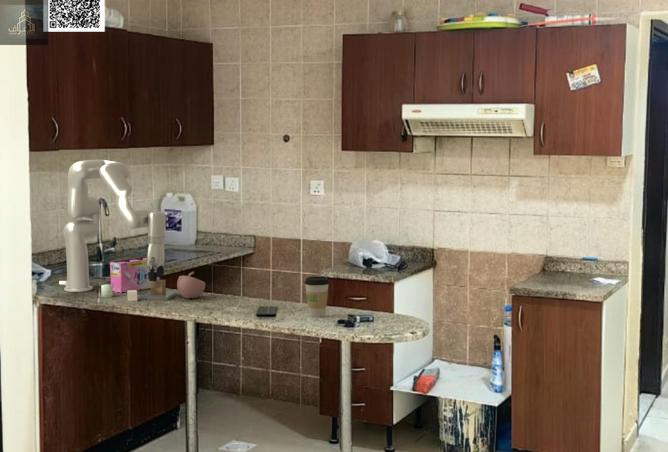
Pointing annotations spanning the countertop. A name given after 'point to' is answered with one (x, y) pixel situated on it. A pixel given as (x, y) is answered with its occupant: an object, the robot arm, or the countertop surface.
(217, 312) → the countertop surface
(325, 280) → the coffee cup
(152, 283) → the walnut block
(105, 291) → the sage tin
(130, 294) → the cream cube
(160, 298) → the slate board
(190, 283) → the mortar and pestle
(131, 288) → the gum box
